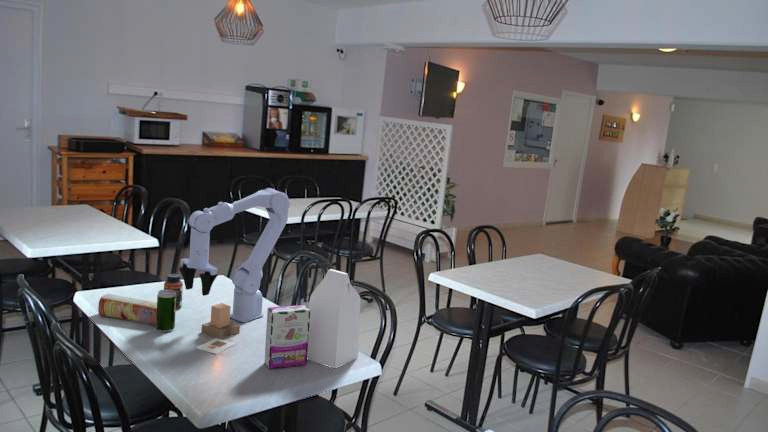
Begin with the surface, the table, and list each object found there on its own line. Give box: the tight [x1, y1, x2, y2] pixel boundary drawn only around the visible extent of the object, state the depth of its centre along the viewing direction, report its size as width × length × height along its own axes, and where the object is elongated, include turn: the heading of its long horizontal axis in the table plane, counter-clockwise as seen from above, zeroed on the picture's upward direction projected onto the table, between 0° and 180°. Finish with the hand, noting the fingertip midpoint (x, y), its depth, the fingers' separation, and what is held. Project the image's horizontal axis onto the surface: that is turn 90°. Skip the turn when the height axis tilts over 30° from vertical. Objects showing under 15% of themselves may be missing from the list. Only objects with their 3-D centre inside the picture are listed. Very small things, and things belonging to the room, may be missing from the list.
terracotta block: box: [210, 302, 231, 328], centre depth 186 cm, size 4×4×6 cm
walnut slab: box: [201, 321, 241, 340], centre depth 187 cm, size 8×8×3 cm
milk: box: [307, 268, 361, 369], centre depth 176 cm, size 12×12×26 cm
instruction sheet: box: [195, 338, 236, 355], centre depth 177 cm, size 9×7×1 cm
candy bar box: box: [264, 304, 310, 370], centre depth 169 cm, size 11×5×16 cm, turn 117°
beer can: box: [155, 288, 176, 333], centre depth 184 cm, size 5×5×12 cm
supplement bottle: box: [163, 273, 184, 311], centre depth 203 cm, size 6×6×11 cm
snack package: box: [97, 293, 157, 326], centre depth 191 cm, size 21×7×7 cm, turn 80°
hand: (197, 291), depth 191 cm, fingers open, 7 cm apart
